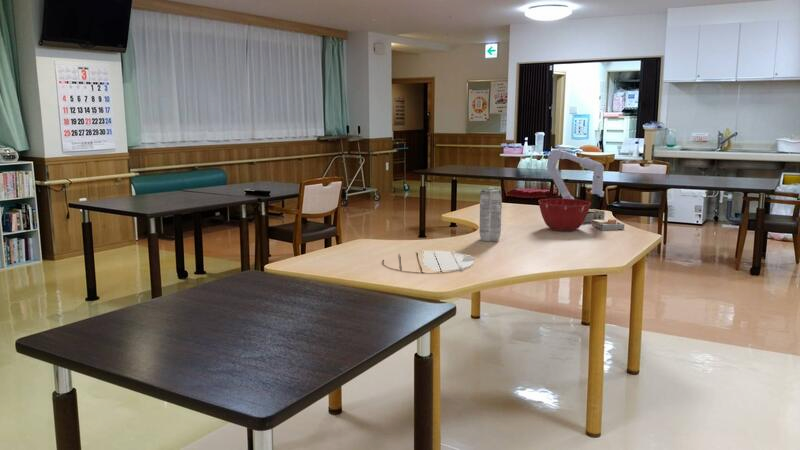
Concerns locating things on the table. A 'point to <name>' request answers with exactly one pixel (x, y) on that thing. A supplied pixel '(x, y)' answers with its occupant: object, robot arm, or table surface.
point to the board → (599, 222)
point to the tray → (610, 226)
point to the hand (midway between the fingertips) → (596, 207)
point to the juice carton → (490, 214)
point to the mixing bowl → (564, 213)
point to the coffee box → (594, 215)
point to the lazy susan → (447, 261)
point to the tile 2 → (611, 221)
